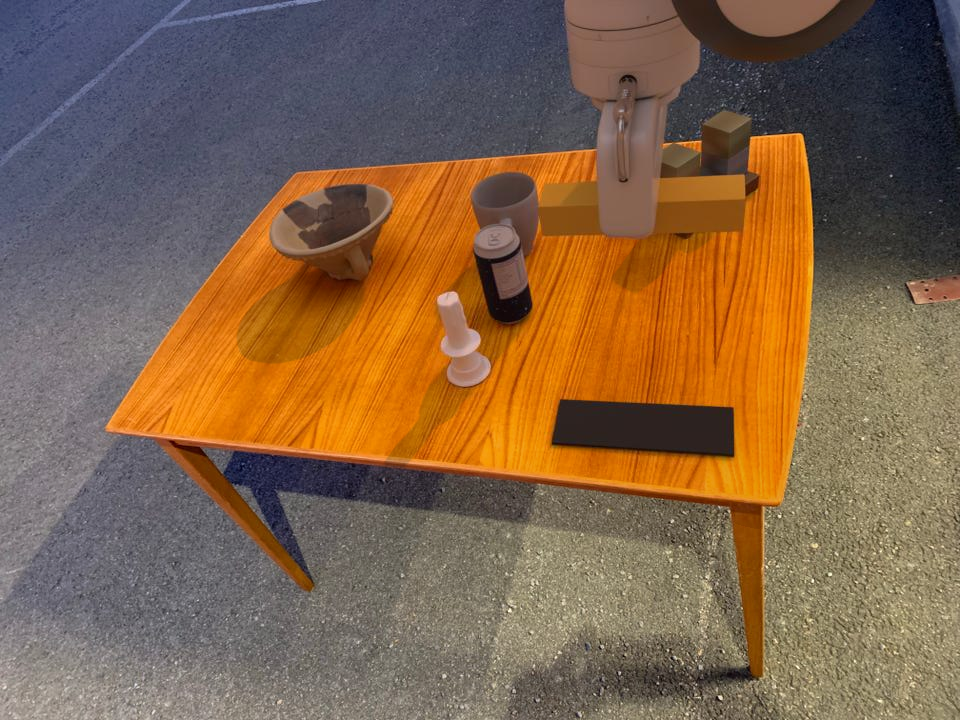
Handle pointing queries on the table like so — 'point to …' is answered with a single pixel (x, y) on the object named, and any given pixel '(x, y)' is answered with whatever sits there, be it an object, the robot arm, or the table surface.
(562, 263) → the table surface
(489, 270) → the beverage can
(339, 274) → the bowl
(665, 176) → the tower
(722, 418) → the mat
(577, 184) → the bar
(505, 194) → the mug
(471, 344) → the candle
